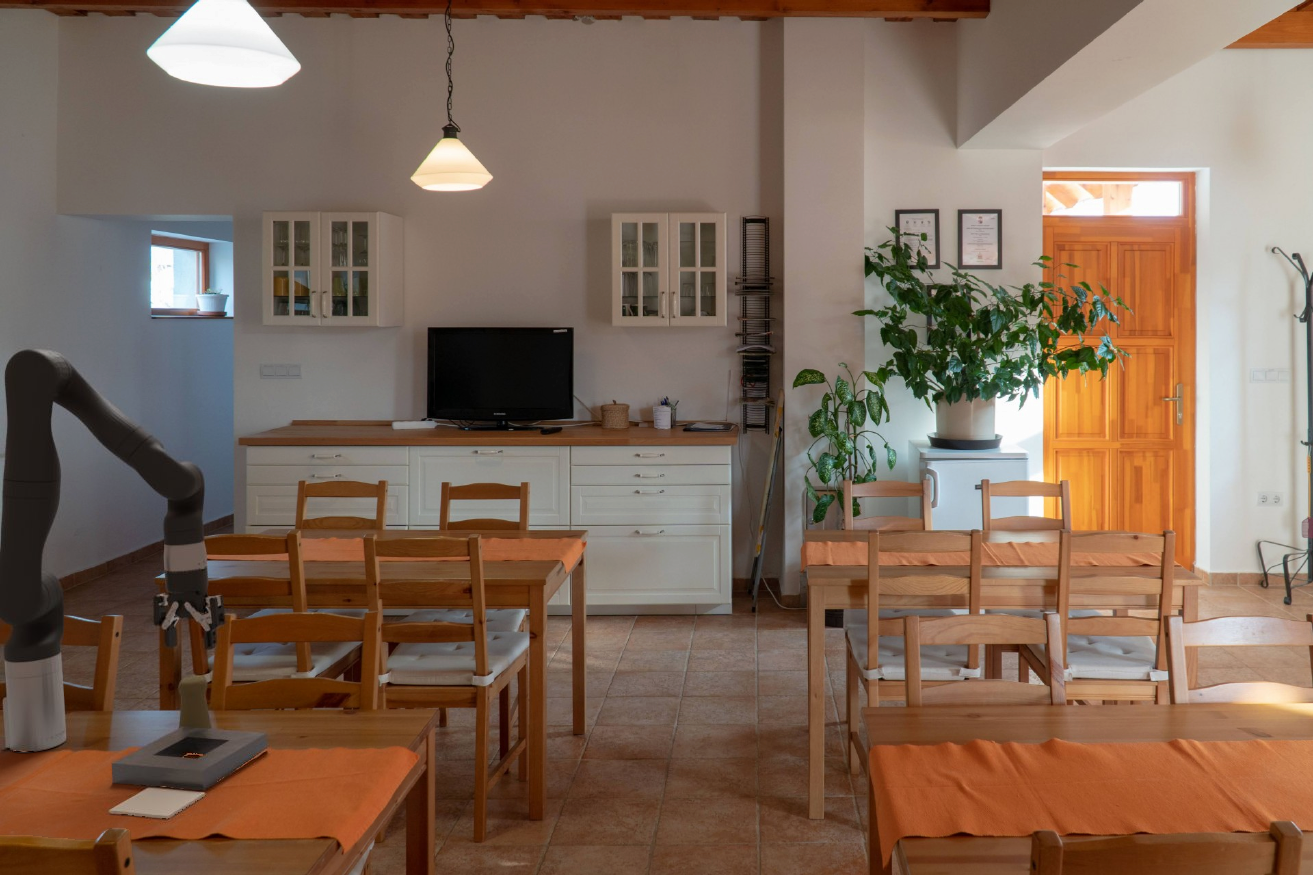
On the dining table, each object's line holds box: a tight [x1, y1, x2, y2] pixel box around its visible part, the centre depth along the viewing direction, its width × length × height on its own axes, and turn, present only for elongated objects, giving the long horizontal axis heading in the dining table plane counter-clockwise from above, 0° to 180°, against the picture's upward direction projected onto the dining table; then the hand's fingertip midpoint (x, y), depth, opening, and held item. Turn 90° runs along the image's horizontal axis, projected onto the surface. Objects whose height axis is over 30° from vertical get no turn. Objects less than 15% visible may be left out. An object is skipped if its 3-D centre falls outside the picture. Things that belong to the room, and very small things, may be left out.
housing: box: [111, 727, 268, 791], centre depth 184 cm, size 18×18×4 cm
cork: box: [177, 675, 213, 729], centre depth 201 cm, size 6×6×11 cm
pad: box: [108, 787, 206, 820], centre depth 168 cm, size 11×9×1 cm
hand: (191, 648), depth 200 cm, fingers open, 8 cm apart
